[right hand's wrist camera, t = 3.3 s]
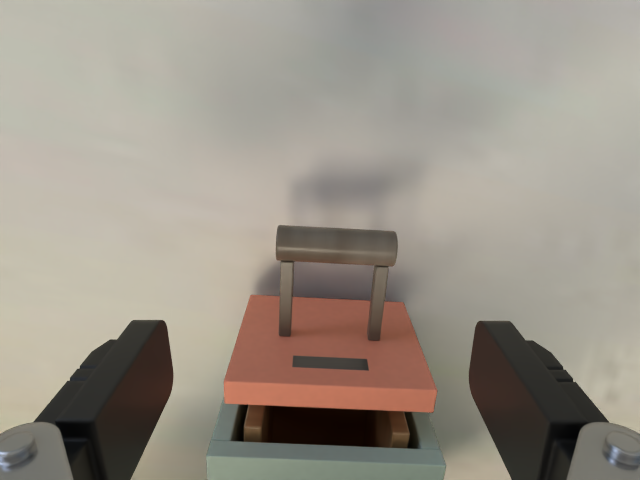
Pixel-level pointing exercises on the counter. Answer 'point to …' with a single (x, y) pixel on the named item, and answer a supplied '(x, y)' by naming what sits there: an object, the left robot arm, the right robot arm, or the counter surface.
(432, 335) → the counter surface
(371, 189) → the counter surface
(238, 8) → the counter surface
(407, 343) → the drawer
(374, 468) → the cabinet
